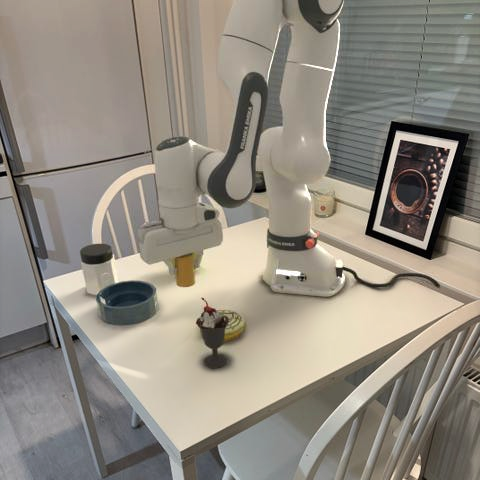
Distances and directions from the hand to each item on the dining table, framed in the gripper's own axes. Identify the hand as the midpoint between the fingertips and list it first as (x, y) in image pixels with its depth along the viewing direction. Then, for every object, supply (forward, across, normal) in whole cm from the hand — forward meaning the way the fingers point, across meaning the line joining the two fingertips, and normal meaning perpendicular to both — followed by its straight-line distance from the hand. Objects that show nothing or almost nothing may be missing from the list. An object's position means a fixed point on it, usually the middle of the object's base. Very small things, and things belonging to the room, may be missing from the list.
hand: (184, 270), depth 117 cm
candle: (+3, 0, 0) cm, 3 cm away
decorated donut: (+12, +2, -13) cm, 17 cm away
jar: (+12, -13, +25) cm, 30 cm away
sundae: (+12, -6, -22) cm, 25 cm away
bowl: (+11, -12, +9) cm, 19 cm away
